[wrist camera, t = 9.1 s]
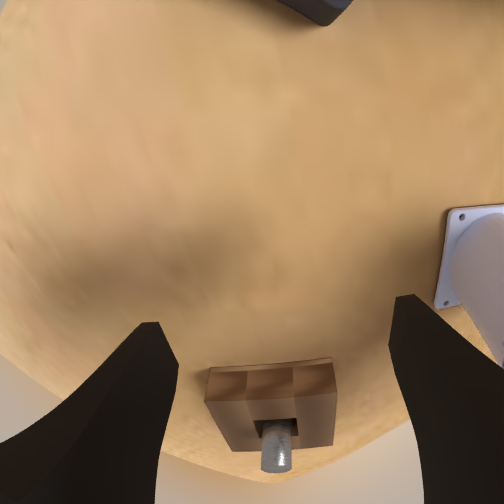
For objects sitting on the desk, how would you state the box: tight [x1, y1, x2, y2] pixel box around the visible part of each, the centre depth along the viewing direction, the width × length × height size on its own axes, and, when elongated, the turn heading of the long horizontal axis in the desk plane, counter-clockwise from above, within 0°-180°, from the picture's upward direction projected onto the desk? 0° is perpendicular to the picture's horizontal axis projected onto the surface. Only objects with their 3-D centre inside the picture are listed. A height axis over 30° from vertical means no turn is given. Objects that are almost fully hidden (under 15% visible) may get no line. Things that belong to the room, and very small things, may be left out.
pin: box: [261, 418, 292, 473], centre depth 23 cm, size 2×2×7 cm
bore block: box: [204, 358, 337, 452], centre depth 25 cm, size 10×10×4 cm
